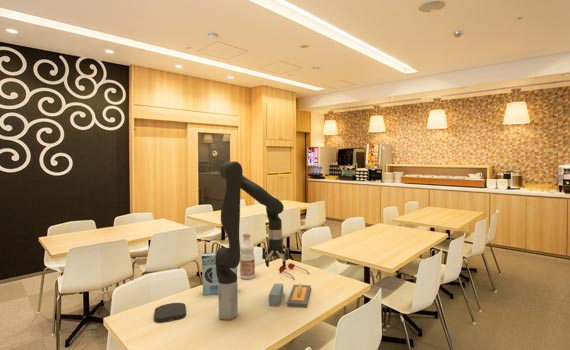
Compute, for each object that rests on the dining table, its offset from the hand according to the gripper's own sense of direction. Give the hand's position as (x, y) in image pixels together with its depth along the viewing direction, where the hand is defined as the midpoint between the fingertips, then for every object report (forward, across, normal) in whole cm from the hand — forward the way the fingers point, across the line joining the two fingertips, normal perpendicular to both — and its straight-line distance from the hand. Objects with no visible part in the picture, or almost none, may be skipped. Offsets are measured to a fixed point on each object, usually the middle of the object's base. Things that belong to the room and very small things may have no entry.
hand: (275, 267), depth 171 cm
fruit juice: (+18, -25, +30) cm, 43 cm away
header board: (+18, +12, +5) cm, 22 cm away
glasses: (+19, +4, +40) cm, 44 cm away
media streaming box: (+18, -49, -23) cm, 57 cm away
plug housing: (+18, 0, +3) cm, 18 cm away
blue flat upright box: (+18, -34, +5) cm, 39 cm away
